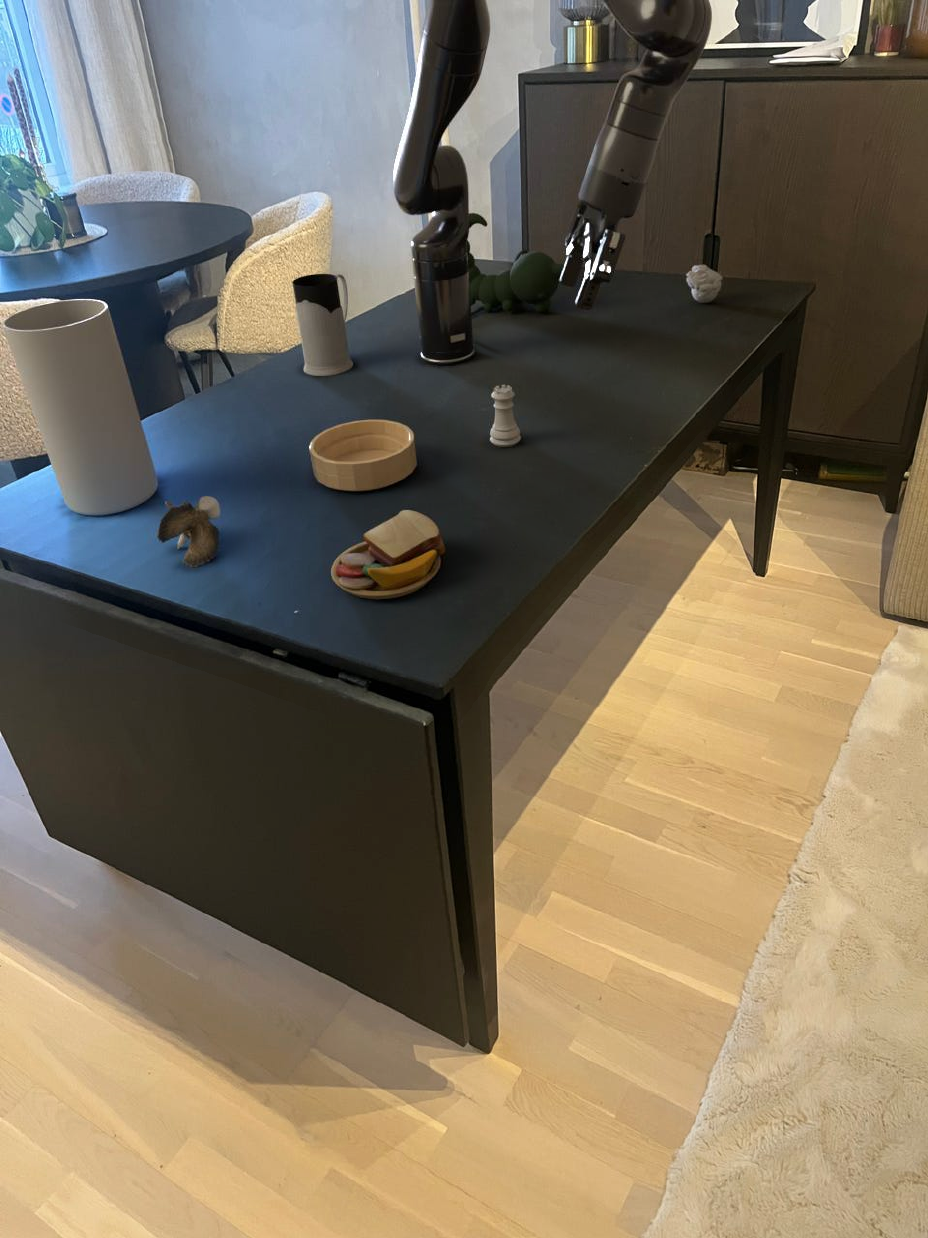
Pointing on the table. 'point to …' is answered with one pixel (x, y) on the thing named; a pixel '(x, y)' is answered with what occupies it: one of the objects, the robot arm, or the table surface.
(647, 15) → the robot arm
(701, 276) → the white lumpy rounded piece
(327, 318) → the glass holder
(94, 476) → the cylinder vase
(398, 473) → the bowl
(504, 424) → the rook chess piece
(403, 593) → the toy sandwich meal
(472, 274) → the toy figurine
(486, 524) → the table surface
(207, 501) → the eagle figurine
